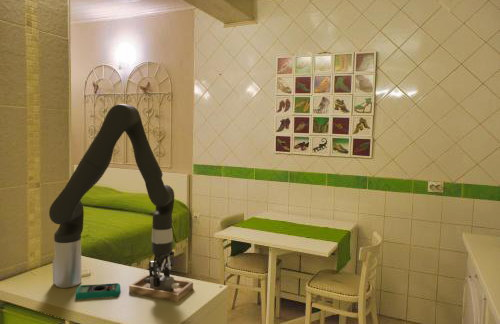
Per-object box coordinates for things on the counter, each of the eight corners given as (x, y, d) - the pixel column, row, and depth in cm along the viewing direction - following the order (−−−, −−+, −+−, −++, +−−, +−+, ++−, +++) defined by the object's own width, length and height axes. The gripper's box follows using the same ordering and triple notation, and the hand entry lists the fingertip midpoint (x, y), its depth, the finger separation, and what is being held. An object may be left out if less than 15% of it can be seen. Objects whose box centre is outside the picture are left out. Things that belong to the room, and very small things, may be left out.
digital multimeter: (119, 298, 141) (119, 290, 141) (74, 301, 138) (74, 292, 137) (121, 289, 148) (121, 281, 148) (78, 292, 145) (78, 284, 145)
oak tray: (129, 292, 145) (129, 285, 144) (147, 280, 156) (147, 274, 156) (177, 302, 138) (177, 294, 138) (193, 288, 150) (193, 282, 150)
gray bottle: (142, 288, 147) (142, 276, 147) (148, 283, 152) (148, 272, 151) (174, 294, 143) (174, 282, 143) (180, 289, 147) (180, 278, 147)
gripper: (163, 233, 153) (163, 274, 155) (142, 243, 140) (141, 288, 141) (180, 235, 151) (180, 277, 153) (160, 246, 137) (160, 292, 139)
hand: (161, 282), depth 147 cm, fingers open, 6 cm apart
